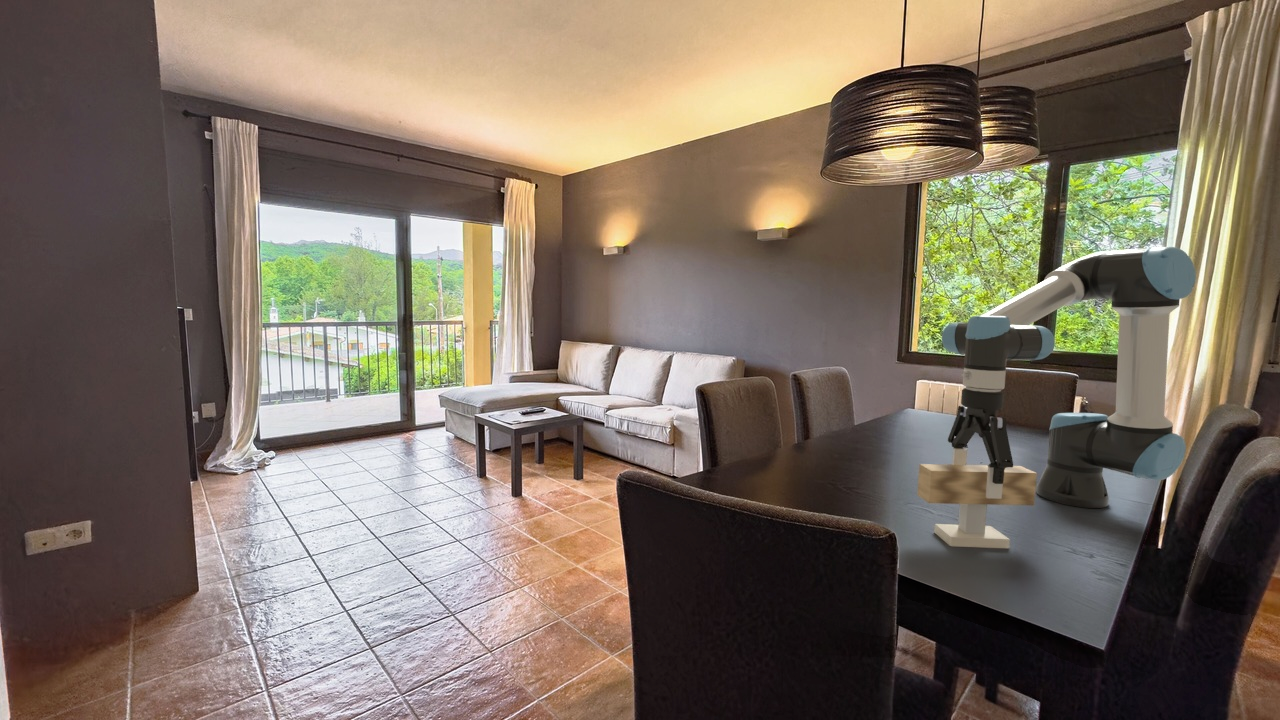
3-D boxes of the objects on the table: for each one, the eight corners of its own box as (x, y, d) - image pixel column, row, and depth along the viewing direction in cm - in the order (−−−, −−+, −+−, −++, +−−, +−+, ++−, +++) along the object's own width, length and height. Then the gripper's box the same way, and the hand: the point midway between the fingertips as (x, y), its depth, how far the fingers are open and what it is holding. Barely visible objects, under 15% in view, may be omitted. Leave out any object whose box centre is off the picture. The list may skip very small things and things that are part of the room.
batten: (1018, 497, 120) (1020, 466, 119) (1034, 505, 115) (1037, 473, 114) (917, 495, 120) (919, 464, 119) (929, 503, 115) (931, 470, 114)
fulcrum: (989, 534, 121) (992, 495, 121) (1009, 548, 115) (1012, 507, 114) (934, 532, 122) (937, 493, 121) (950, 546, 115) (953, 505, 114)
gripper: (935, 380, 128) (929, 468, 130) (999, 398, 103) (990, 507, 105) (968, 381, 127) (962, 469, 129) (1041, 399, 102) (1031, 509, 105)
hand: (974, 486), depth 117 cm, fingers open, 13 cm apart
